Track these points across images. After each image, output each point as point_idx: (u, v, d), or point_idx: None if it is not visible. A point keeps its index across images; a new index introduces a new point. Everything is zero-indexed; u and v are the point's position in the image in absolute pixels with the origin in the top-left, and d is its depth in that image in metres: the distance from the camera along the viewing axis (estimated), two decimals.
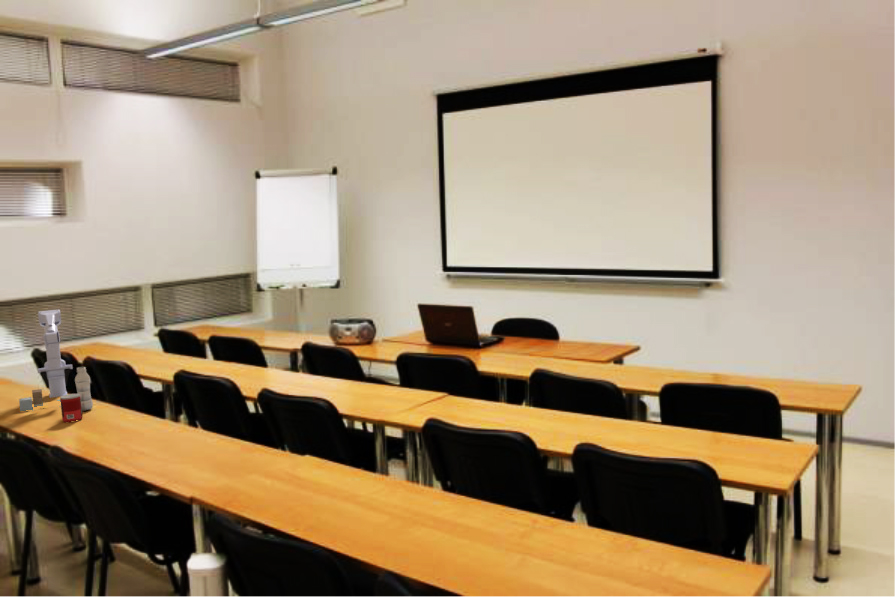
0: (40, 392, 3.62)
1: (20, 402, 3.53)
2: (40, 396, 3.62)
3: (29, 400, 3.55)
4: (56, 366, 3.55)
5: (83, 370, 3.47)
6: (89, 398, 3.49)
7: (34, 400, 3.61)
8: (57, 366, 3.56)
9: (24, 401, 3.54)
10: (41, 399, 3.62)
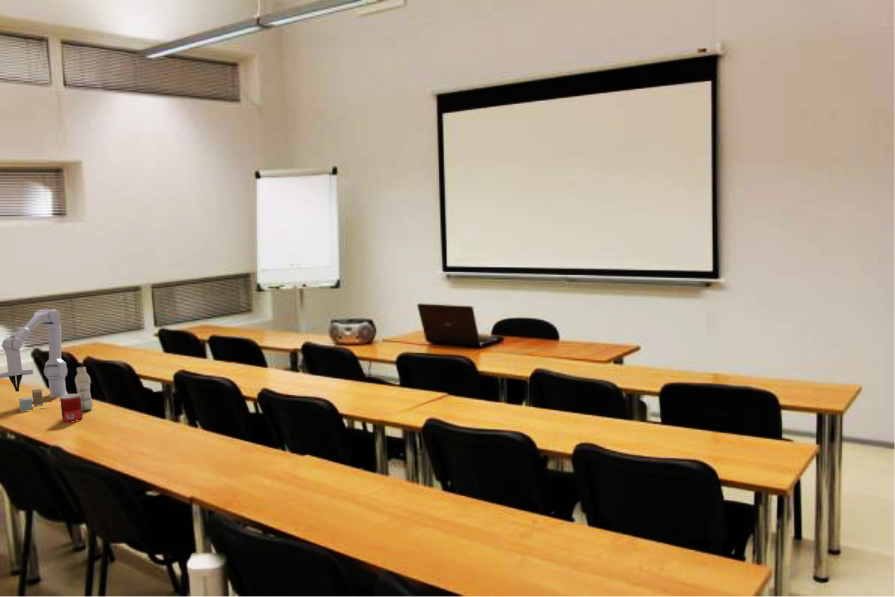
0: (40, 392, 3.62)
1: (20, 402, 3.53)
2: (40, 396, 3.62)
3: (29, 400, 3.55)
4: (16, 371, 3.56)
5: (83, 370, 3.47)
6: (89, 398, 3.49)
7: (34, 400, 3.61)
8: (17, 371, 3.57)
9: (24, 401, 3.54)
10: (41, 399, 3.62)
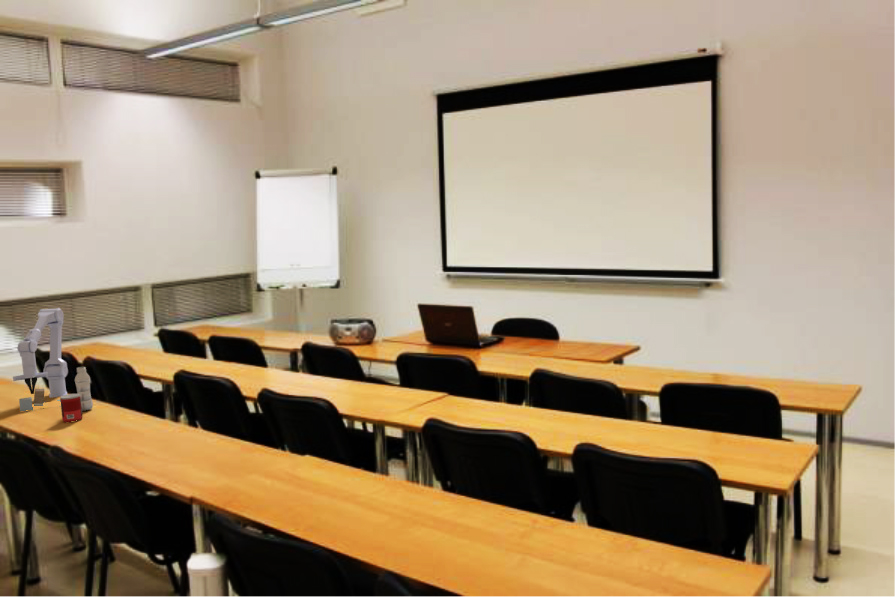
0: (43, 392, 3.62)
1: (20, 402, 3.53)
2: (42, 396, 3.62)
3: (29, 400, 3.55)
4: (31, 374, 3.59)
5: (83, 370, 3.47)
6: (89, 398, 3.49)
7: (35, 399, 3.61)
8: (32, 374, 3.60)
9: (24, 401, 3.54)
10: (42, 399, 3.62)
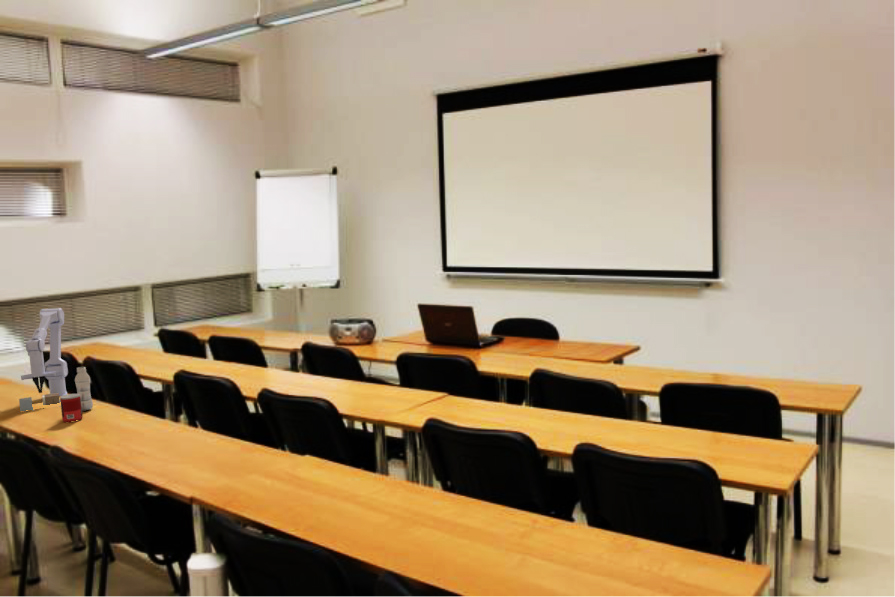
0: (58, 402, 3.66)
1: (20, 402, 3.53)
2: (53, 402, 3.65)
3: (29, 400, 3.55)
4: (39, 373, 3.61)
5: (83, 370, 3.47)
6: (89, 398, 3.49)
7: (49, 397, 3.64)
8: (40, 373, 3.61)
9: (24, 401, 3.54)
10: (50, 403, 3.64)
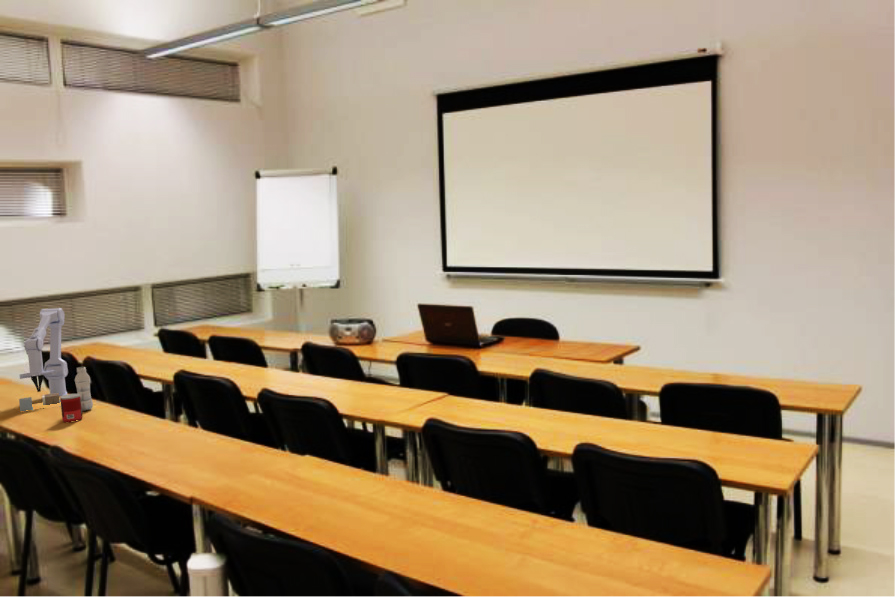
0: (58, 402, 3.66)
1: (20, 402, 3.53)
2: (53, 402, 3.65)
3: (29, 400, 3.55)
4: (38, 372, 3.61)
5: (83, 370, 3.47)
6: (89, 398, 3.49)
7: (49, 397, 3.64)
8: (39, 372, 3.61)
9: (24, 401, 3.54)
10: (50, 403, 3.64)
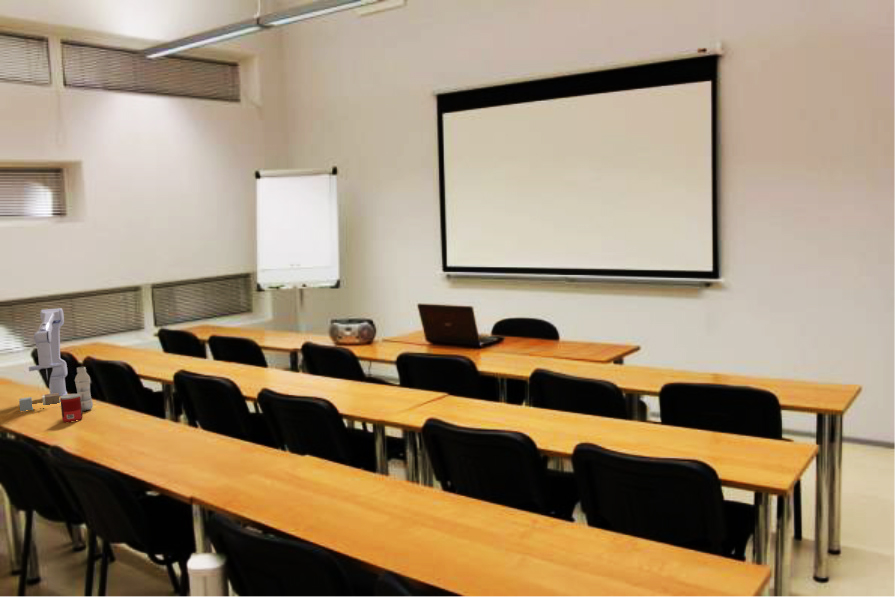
0: (58, 402, 3.66)
1: (20, 402, 3.53)
2: (53, 402, 3.65)
3: (29, 400, 3.55)
4: (47, 364, 3.62)
5: (83, 370, 3.47)
6: (89, 398, 3.49)
7: (49, 397, 3.64)
8: (48, 364, 3.63)
9: (24, 401, 3.54)
10: (50, 403, 3.64)
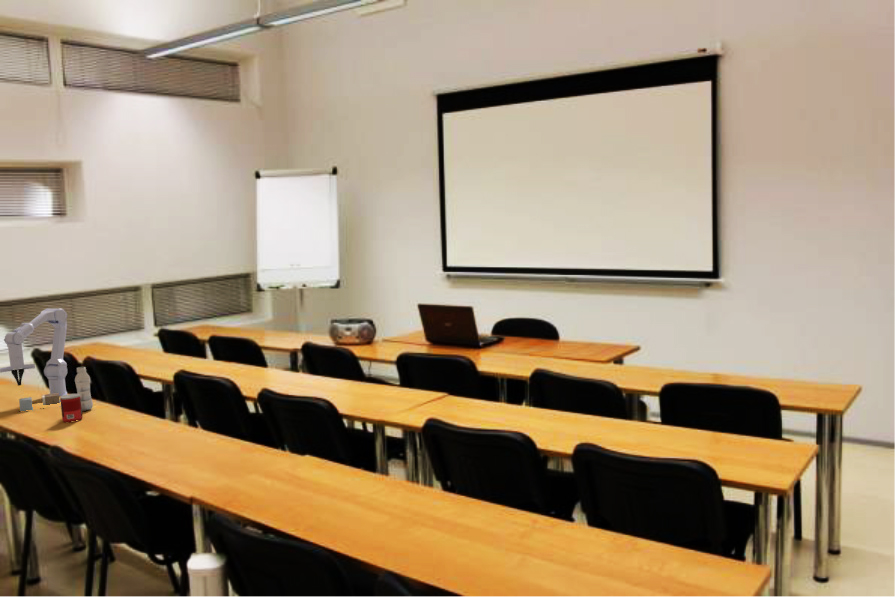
0: (58, 402, 3.66)
1: (20, 402, 3.53)
2: (53, 402, 3.65)
3: (29, 400, 3.55)
4: (18, 365, 3.60)
5: (83, 370, 3.47)
6: (89, 398, 3.49)
7: (49, 397, 3.64)
8: (19, 365, 3.60)
9: (24, 401, 3.54)
10: (50, 403, 3.64)
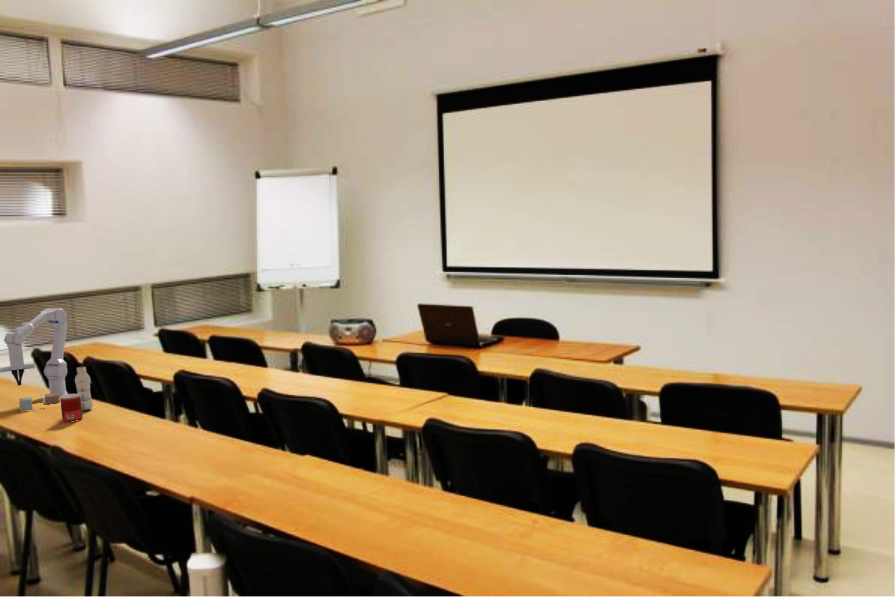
0: (58, 402, 3.66)
1: (20, 402, 3.53)
2: (53, 402, 3.65)
3: (29, 400, 3.55)
4: (18, 365, 3.60)
5: (83, 370, 3.47)
6: (89, 398, 3.49)
7: (49, 397, 3.64)
8: (19, 365, 3.60)
9: (24, 401, 3.54)
10: (50, 403, 3.64)
